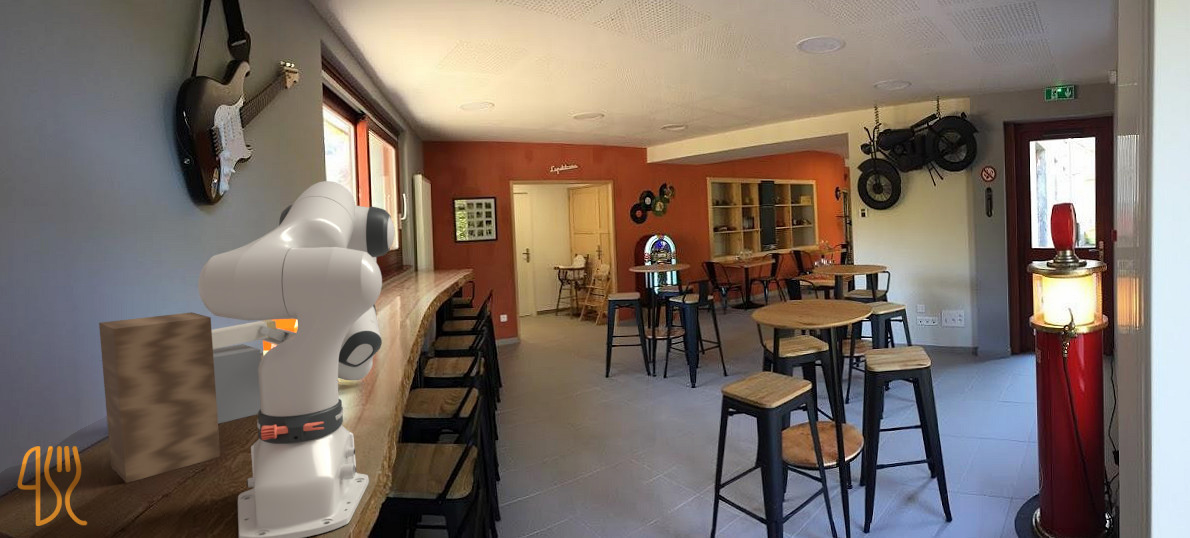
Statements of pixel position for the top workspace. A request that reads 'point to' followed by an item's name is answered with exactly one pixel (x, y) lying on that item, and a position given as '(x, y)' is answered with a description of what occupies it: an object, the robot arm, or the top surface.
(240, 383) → the grey block
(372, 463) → the top surface
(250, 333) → the cream tan bar
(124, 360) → the walnut post
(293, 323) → the orange juice
